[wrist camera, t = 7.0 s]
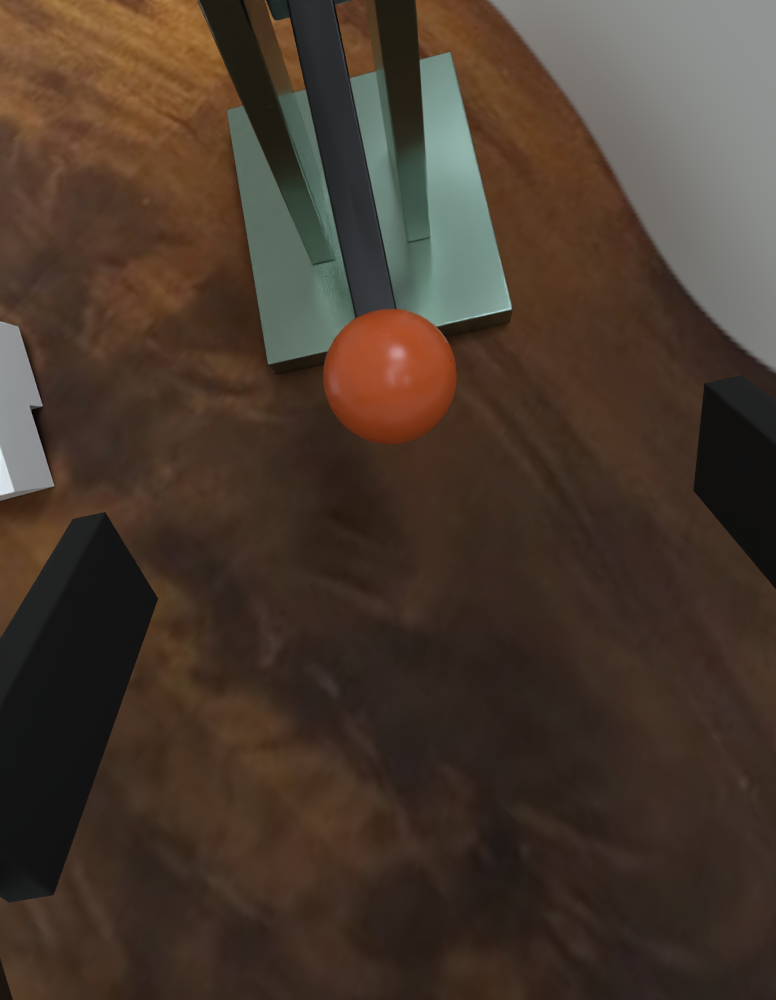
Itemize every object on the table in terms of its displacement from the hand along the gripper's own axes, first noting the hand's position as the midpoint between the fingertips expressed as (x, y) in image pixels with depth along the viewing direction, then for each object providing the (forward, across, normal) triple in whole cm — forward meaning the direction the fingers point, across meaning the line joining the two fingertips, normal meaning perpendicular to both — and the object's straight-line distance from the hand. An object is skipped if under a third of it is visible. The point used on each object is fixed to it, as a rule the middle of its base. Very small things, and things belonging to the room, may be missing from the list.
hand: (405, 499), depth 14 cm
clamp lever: (+8, 0, +5) cm, 10 cm away
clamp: (+17, 0, +2) cm, 18 cm away
